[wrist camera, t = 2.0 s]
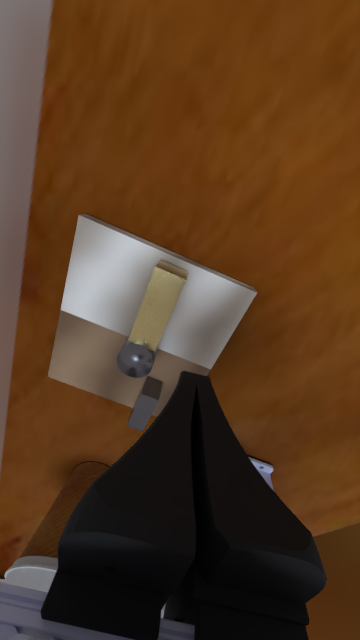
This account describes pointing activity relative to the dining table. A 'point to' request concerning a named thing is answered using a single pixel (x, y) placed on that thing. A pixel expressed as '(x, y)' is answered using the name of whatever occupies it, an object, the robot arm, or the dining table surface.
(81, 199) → the dining table surface
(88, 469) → the disposable coffee cup
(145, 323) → the bar
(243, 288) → the door edge board
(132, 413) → the keeper block
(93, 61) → the dining table surface
